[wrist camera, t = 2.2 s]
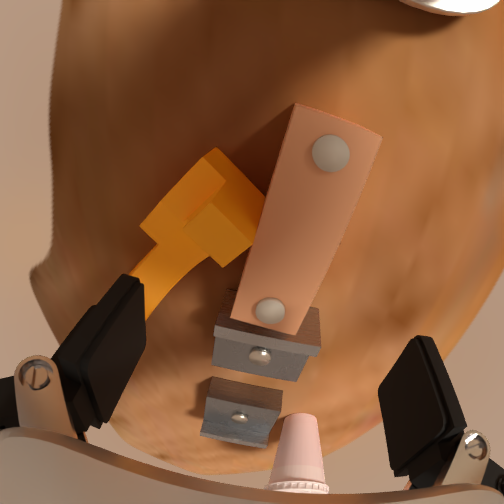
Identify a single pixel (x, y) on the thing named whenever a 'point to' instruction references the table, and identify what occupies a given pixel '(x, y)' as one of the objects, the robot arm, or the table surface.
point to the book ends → (254, 362)
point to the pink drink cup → (298, 457)
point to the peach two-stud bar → (303, 217)
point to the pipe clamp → (198, 224)
